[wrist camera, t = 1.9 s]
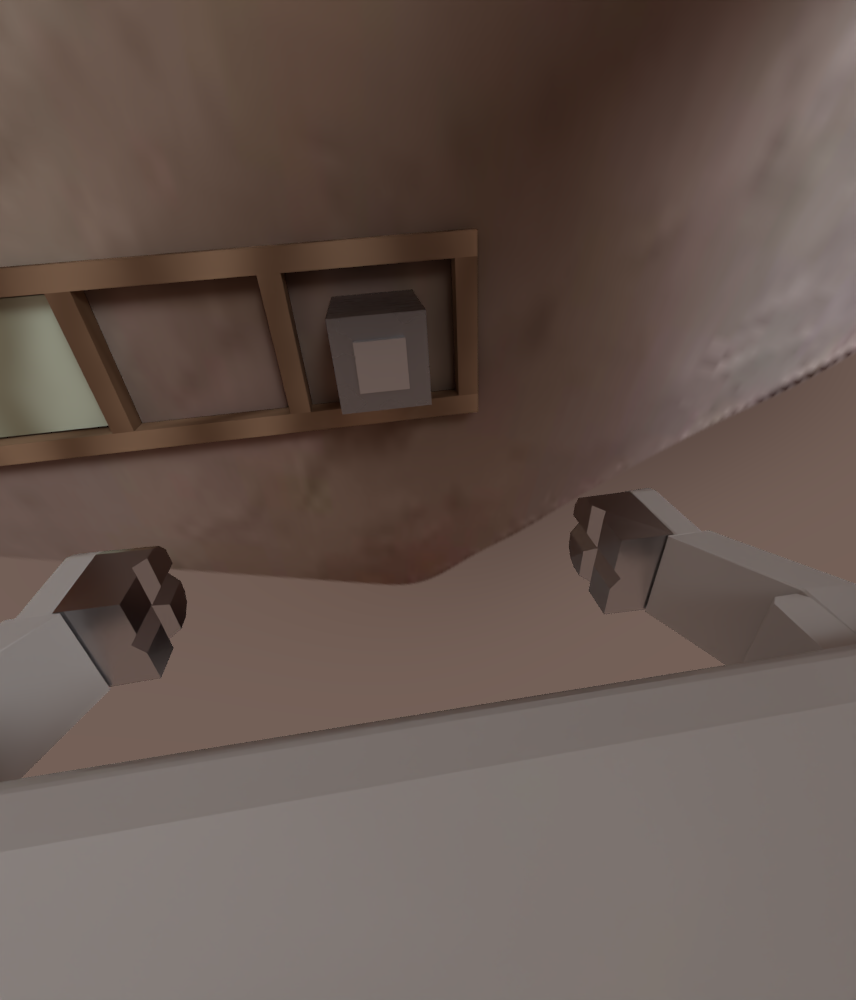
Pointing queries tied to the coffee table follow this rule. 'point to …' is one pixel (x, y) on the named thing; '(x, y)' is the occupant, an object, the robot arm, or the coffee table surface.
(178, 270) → the divided wooden frame
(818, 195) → the coffee table surface
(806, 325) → the coffee table surface
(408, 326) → the gray rectangular block
